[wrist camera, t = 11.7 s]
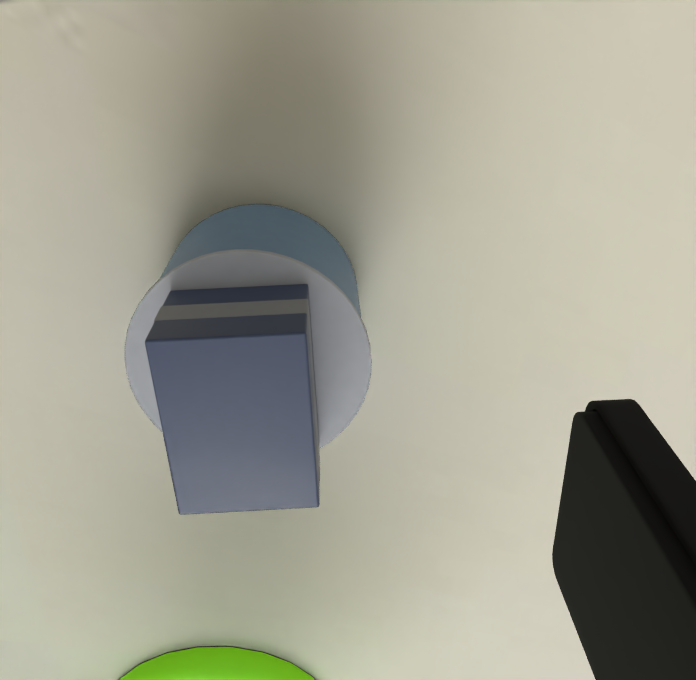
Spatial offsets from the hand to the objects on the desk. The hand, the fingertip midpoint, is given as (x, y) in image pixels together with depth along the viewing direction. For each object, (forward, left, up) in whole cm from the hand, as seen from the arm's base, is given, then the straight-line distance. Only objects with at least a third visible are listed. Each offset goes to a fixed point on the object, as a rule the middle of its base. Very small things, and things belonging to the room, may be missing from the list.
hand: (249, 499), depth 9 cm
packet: (+6, -2, -15) cm, 16 cm away
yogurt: (+6, -2, -22) cm, 23 cm away
